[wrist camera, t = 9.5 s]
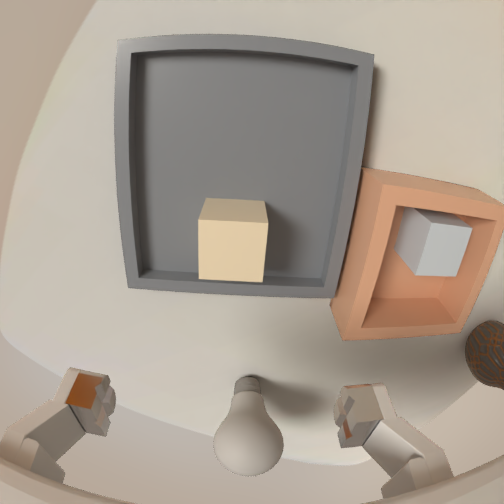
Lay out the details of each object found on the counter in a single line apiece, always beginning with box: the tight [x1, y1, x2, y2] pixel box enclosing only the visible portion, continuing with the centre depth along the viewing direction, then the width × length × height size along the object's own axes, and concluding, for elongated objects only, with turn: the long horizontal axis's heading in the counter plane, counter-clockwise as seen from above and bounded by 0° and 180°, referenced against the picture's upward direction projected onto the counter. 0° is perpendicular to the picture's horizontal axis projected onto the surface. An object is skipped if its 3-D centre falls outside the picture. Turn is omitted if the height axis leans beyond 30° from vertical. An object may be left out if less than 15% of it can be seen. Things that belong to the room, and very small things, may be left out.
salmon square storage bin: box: [330, 167, 504, 340], centre depth 22 cm, size 12×12×4 cm
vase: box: [465, 321, 504, 390], centre depth 26 cm, size 7×7×9 cm
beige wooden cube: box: [198, 198, 268, 282], centre depth 21 cm, size 4×4×4 cm
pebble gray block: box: [394, 206, 472, 276], centre depth 21 cm, size 4×4×4 cm
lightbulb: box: [213, 377, 284, 476], centre depth 26 cm, size 6×6×11 cm
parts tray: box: [114, 34, 374, 298], centre depth 20 cm, size 18×16×2 cm
